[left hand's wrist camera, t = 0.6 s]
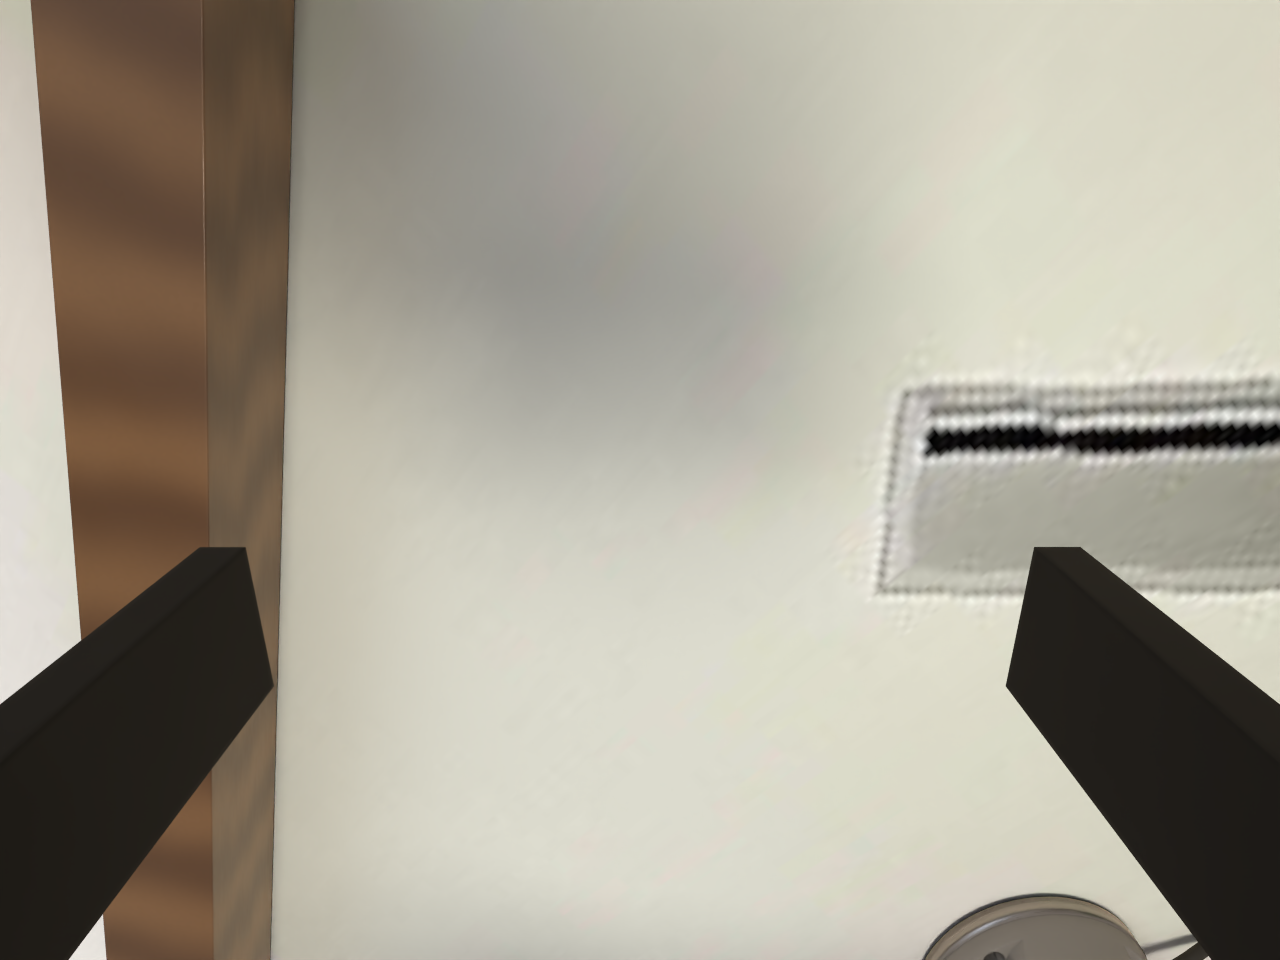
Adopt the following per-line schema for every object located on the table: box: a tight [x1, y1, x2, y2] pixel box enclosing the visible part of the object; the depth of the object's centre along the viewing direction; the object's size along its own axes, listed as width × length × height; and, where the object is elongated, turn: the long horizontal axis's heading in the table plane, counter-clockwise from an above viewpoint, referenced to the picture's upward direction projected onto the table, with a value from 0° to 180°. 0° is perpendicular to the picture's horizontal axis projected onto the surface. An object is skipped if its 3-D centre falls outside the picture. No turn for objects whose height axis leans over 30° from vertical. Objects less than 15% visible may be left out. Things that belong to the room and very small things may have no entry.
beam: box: [31, 0, 294, 960], centre depth 38 cm, size 66×6×7 cm, turn 169°
